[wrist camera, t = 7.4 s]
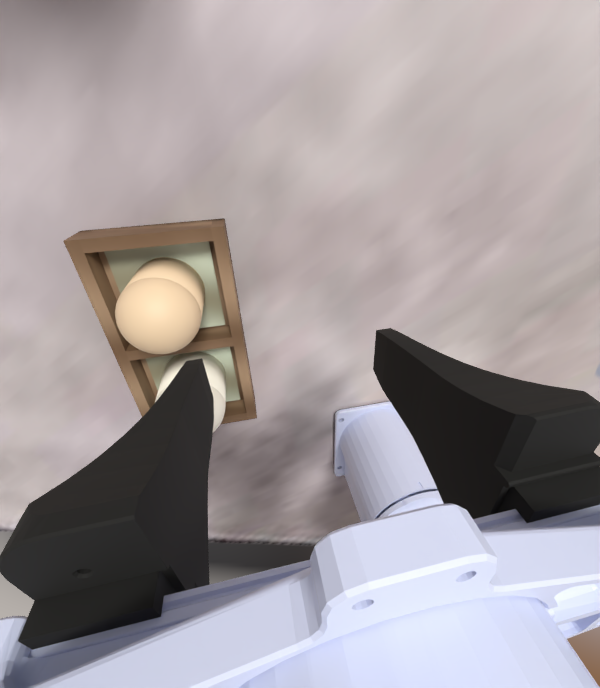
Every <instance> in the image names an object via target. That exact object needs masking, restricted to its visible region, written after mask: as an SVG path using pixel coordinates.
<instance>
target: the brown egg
mask: <svg viewBox="0 0 600 688" xmlns="http://www.w3.org/2000/svg"><path fill="white" fill-rule="evenodd" d="M204 300H205V286H204V283H203V281H202V279H201V277H200V275H199V274H198V273H197V271H196V270H195V269H194V268H192V267H191V266H190V265H188V264H187V263H185V262H183V261H181V260H178V259H175V258H168V257H160V258H155V259H152V260H150V261H147V262H146V263H144V264H143V265H142V266H141V267H140V268H139V269H138V271H137V272H136V273H135V275H134V276H133V277H132V279H131V280H130V282H129V283H128V284H127V286H126V287H125V288H124V290H123V291H122V293H121V294H120V296H119V298H118V300H117V303H116V309H115V318H116V323H117V326H118V328H119V330H120V332H121V334H122V335H123V337H124V338H125V339H126V340H127V341H128V342H129V343H130V344H131V345H133V346H134V347H136V348H137V349H139V350H142V351H144V352H147V353H152V354H168V353H172V352H176V351H178V350H180V349H182V348H184V347H185V346H187V345H188V344H189V343H190V342H191V341H192V340H193V339H194V337H195V336H196V334H197V333H198V331H199V328H200V324H201V319H202V313H203V306H204Z"/></svg>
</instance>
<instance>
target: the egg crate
mask: <svg viewBox="0 0 600 688" xmlns="http://www.w3.org/2000/svg"><path fill="white" fill-rule="evenodd" d="M64 243H65V245H66V248H67V250H68V252H69V254H70V256H71V259H72V261H73V263H74V265H75V268H76V270H77V272H78V274H79V277H80V279H81V281H82V283H83V286H84V288H85V290H86V292H87V294H88V297H89V299H90V301H91V303H92V306H93V308H94V310H95V312H96V315H97V317H98V319H99V321H100V324H101V326H102V328H103V330H104V332H105V335H106V337H107V339H108V341H109V344H110V346H111V348H112V350H113V353H114V355H115V357H116V359H117V362H118V364H119V366H120V368H121V370H122V373H123V375H124V377H125V379H126V382H127V384H128V386H129V388H130V391H131V393H132V395H133V397H134V400H135V402H136V404H137V406H138V408H139V411H140V413H141V415H142V417H143V416H144V415H145V414H146V413H147V412H148V410H149V409H150V408H151V407H152V406H153V405H154V403H155V400H156V396H157V393H158V390H159V386H160V383H161V379H162V376H163V372H164V369H165V366H166V364H167V363H168V361H169V360H170V359H172V358H173V357H174V356H176V355H178V354H181V353H188V352H195V351H200V352H205V353H208V354H210V355H212V356H214V357H216V358H217V359H218V360H219V361H220V362H221V363H222V365H223V366H224V368H225V372H226V407H225V414H224V417H223V420H222V422H221V424H225V423H230V422H236V421H242V420H248V419H254V418H257V415H256V405H255V397H254V391H253V385H252V379H251V373H250V367H249V361H248V355H247V349H246V344H245V338H244V332H243V326H242V320H241V314H240V308H239V302H238V296H237V290H236V284H235V278H234V272H233V266H232V260H231V254H230V248H229V243H228V237H227V231H226V225H225V219H213V220H202V221H190V222H179V223H167V224H156V225H144V226H133V227H121V228H110V229H98V230H87V231H80V232H78V233H76V234H75V235H73V236H71V237H70V238H68V239H66V240H64ZM160 257H168V258H175V259H178V260H181V261H183V262H185V263H187V264H188V265H190V266H191V267H192V268H194V269H195V270H196V271H197V273H198V274H199V275H200V277H201V279H202V281H203V283H204V286H205V300H204V306H203V313H202V319H201V324H200V328H199V331H198V333H197V334H196V336H195V337H194V339H193V340H192V341H191V342H190V343H189V344H188V345H187V346H185V347H184V348H182V349H180V350H178V351H176V352H172V353H168V354H152V353H147V352H144V351H142V350H139V349H137V348H136V347H134V346H133V345H131V344H130V343H129V342H128V341H127V340H126V339H125V338H124V337H123V335H122V334H121V332H120V330H119V328H118V326H117V323H116V318H115V309H116V303H117V300H118V298H119V296H120V294H121V293H122V291H123V290H124V288H125V287H126V286H127V284H128V283H129V282H130V280H131V279H132V277H133V276H134V275H135V273H136V272H137V271H138V269H139V268H140V267H141V266H142V265H143V264H144V263H146V262H147V261H150V260H152V259H155V258H160Z"/></svg>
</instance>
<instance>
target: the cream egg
mask: <svg viewBox="0 0 600 688" xmlns="http://www.w3.org/2000/svg"><path fill="white" fill-rule="evenodd" d="M201 358H202V360H203V363H204V367H205V370H206V373H207V377H208V380H209V384H210V387H211V391H212V394H213V399H214V424H213V432H215V430H216V429H217V428H218V427H219V425H220V424H221V422H222V420H223V417H224V414H225V407H226V372H225V368H224V366H223V365H222V363H221V362H220V361H219V360H218V359H217V358H216V357H214V356H212V355H210V354H208V353H205V352H200V351H195V352H188V353H181V354H178V355H176V356H174V357H173V358H172V359H170V360H169V361H168V363H167V364H166V366H165V369H164V372H163V376H162V379H161V383H160V386H159V390H158V393H157V396H156V400H155V402H156V401H157V400H158V399H159V397H160V396H161V395H162V393H163V392H164V391H165V389H166V388H167V387H168V385H169V384H170V383H171V381H172V380H173V379H174V377H175V376H176V374H177V373H178V372H179V370H180V369H181V367H182V366H183V365H184V363H185V362H186V361H189V360H195V359H201Z"/></svg>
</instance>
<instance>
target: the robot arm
mask: <svg viewBox="0 0 600 688" xmlns="http://www.w3.org/2000/svg"><path fill="white" fill-rule="evenodd" d="M373 370H374V372H375V374H376V376H377V379H378V381H379V383H380V385H381V387H382V389H383V391H384V392H385V394H386V396H387V397H388V399H389V400H390V401H388V402H383V403H377V404H371V405H366V406H360V407H354V408H348V409H343V410H338V411H337V412H336V413H335V448H334V473H335V475H336V476H342V475H345V478H346V481H347V483H348V486H349V489H350V492H351V495H352V498H353V501H354V503H355V506H356V509H357V512H358V515H359V518H360V521H361V522H360V523H356V524H352V525H348V526H345V527H343V528H340V529H337V530H335V531H332V532H330V533H329V534H327V535H326V536H325V537H324V538H322V539H321V540H320V541H318V542H317V544H316V545H315V547H314V550H313V552H312V555H311V557H310V560H307V561H303V562H299V563H295V564H291V565H287V566H283V567H278V568H274V569H270V570H266V571H262V572H258V573H254V574H250V575H246V576H242V577H238V578H234V579H230V580H226V581H222V582H218V583H214V584H210V585H209V566H208V565H209V563H208V506H207V503H208V468H209V460H210V451H211V442H212V433H213V424H214V399H213V394H212V391H211V387H210V384H209V380H208V377H207V373H206V370H205V367H204V363H203V360H202V358H201V359H195V360H189V361H186V362H185V363H184V365H183V366H182V367H181V369H180V370H179V372H178V373H177V374H176V376H175V377H174V379H173V380H172V381H171V383H170V384H169V385H168V387H167V388H166V389H165V391H164V392H163V393H162V395H161V396H160V397H159V399H158V400H157V401H156V402H155V403H154V405H153V406H152V407H151V408H150V409H149V410H148V412H147V413H146V414H145V415H144V416H143V417H142V418H141V419H140V420H139V421H138V422H137V423H136V424H135V425H134V426H133V427H132V428H131V429H130V430H129V431H128V432H127V433H126V434H125V435H124V436H123V437H121V438H120V439H119V440H118V441H117V442H116V443H114V444H113V445H112V446H111V447H110V448H109V449H107V450H106V451H105V452H104V453H103V454H101V455H100V456H99V457H98V458H96V459H95V460H94V461H92V462H91V463H90V464H88V465H87V466H86V467H84V468H83V469H82V470H80V471H79V472H77V473H76V474H75V475H73V476H72V477H70V478H69V479H67V480H66V481H64V482H63V483H61V484H60V485H58V486H57V487H55V488H54V489H52V490H50V491H49V492H47V493H46V494H44V495H43V496H41V497H40V498H38V499H36V500H35V501H33V502H31V503H30V504H29V505H28V507H27V508H26V510H25V512H24V514H23V515H22V517H21V519H20V521H19V522H18V524H17V526H16V528H15V530H14V532H13V533H12V536H11V537H10V539H9V541H8V543H7V544H6V546H5V548H4V550H3V552H2V553H1V555H0V572H1V574H2V575H3V576H4V577H5V578H6V579H7V580H8V581H9V582H10V583H12V584H13V585H15V586H16V587H17V588H18V589H20V590H21V591H23V592H24V593H25V594H27V595H28V596H29V597H31V598H32V599H34V600H35V601H34V604H33V606H32V609H31V611H30V613H29V616H28V617H25V616H12V617H6V618H2V619H0V688H599V686H598V685H597V683H596V682H595V680H594V679H593V677H592V676H591V674H590V673H589V671H588V670H587V668H586V667H585V666H584V664H583V663H582V661H581V660H580V658H579V657H578V655H577V654H576V652H575V651H574V649H573V648H572V647H571V645H570V644H569V642H568V641H567V638H570V637H572V636H575V635H578V634H580V633H583V632H586V631H588V630H591V629H593V628H596V627H599V626H600V467H599V466H600V457H599V456H597V455H596V454H595V453H594V451H595V449H596V448H597V446H598V445H599V443H600V402H599V401H597V400H596V399H594V398H593V397H592V396H590V395H589V394H588V393H586V392H584V391H579V390H572V389H566V388H559V387H553V386H547V385H541V384H537V383H532V382H527V381H522V380H518V379H514V378H510V377H506V376H503V375H499V374H496V373H492V372H489V371H486V370H482V369H480V368H477V367H474V366H471V365H468V364H466V363H463V362H460V361H458V360H455V359H453V358H451V357H448V356H446V355H444V354H442V353H439V352H437V351H435V350H433V349H431V348H429V347H427V346H425V345H423V344H421V343H419V342H417V341H415V340H413V339H411V338H409V337H407V336H406V335H404V334H402V333H400V332H398V331H395V330H393V329H391V328H389V329H382V330H376V341H375V354H374V367H373ZM341 418H342V419H341Z"/></svg>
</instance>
